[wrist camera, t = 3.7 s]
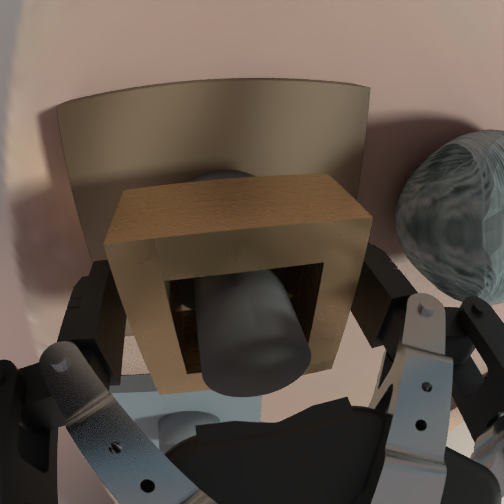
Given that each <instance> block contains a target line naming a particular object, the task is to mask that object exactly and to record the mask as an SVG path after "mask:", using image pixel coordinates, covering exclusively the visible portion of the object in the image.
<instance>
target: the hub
mask: <svg viewBox="0 0 504 504" xmlns="http://www.w3.org/2000/svg"><path fill="white" fill-rule="evenodd" d="M109 392H110V393H111V394H112V395H113V396H114V398H115V399H116V400H117V401H118V403H119V404H120V405H121V406H122V408H123V409H124V410H125V411H126V413H127V414H128V415H129V416H130V417H131V419H132V420H133V421H134V422H135V423H136V424H137V426H138V427H139V428H140V429H141V430H142V431H143V432H144V434H145V435H146V436H147V437H148V438H149V439H150V440H151V441H152V442H153V443H154V445H155V446H156V447H157V448H158V449H159V450H160V451H161V452H162V453H163V454H165V453H166V452H167V451H168V450H169V449H170V448H172V447H173V446H174V445H176V444H178V443H179V442H181V441H183V440H185V439H187V438H189V437H192V436H194V435H196V428H195V425H203V424H212V423H220V422H228V421H246V422H260V416H261V400H262V395H260V396H254V397H231V396H225V395H222V394H219V393H217V392H215V391H213V390H206V391H196V392H186V393H175V394H162V395H159V392H158V390H157V388H156V386H155V384H154V382H153V379H152V377H151V375H150V374H143V375H125V376H121V383H120V385H117V386H110V388H109Z"/></svg>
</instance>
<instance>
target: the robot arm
mask: <svg viewBox="0 0 504 504" xmlns="http://www.w3.org/2000/svg"><path fill="white" fill-rule="evenodd" d="M350 310H351V312H352V314H353V315H354V317H355V319H356V321H357V322H358V324H359V326H360V328H361V329H362V331H363V333H364V335H365V337H366V338H367V340H368V342H369V344H370V346H371V347H372V348H374V347H378V346H382V345H384V347H385V349H386V350H385V352H384V354H383V358H382V362H381V367H380V371H379V375H378V379H377V383H376V387H375V390H374V394H373V397H372V400H371V402H370V404H369V406H368V407H363V406H351V404H350V402H349V400H348V397H344V398H341V399H337V400H333V401H329V402H325V403H322V404H317V405H313V406H311V407H309V408H307V409H305V410H303V411H301V412H299V413H297V414H295V415H293V416H291V417H289V418H287V419H284V420H282V421H280V422H276V423H265V422H246V421H228V422H220V423H212V424H203V425H195V428H196V435H194V436H192V437H189V438H187V439H185V440H183V441H181V442H179V443H178V444H176V445H174V446H173V447H172V448H170V449H169V450H168V451H167V452H166V453H165V454H163V453H162V452H161V451H160V450H159V449H158V448H157V447H156V446H155V445H154V443H153V442H152V441H151V440H150V439H149V438H148V437H147V436H146V435H145V434H144V432H143V431H142V430H141V429H140V428H139V427H138V426H137V424H136V423H135V422H134V421H133V420H132V419H131V417H130V416H129V415H128V414H127V413H126V411H125V410H124V409H123V408H122V406H121V405H120V404H119V403H118V401H117V400H116V399H115V398H114V396H113V395H112V394H111V393H110V392H109V388H110V386H117V385H120V383H121V369H122V357H123V347H124V337H125V328H126V320H127V315H126V313H125V310H124V307H123V304H122V301H121V298H120V296H119V293H118V290H117V287H116V284H115V281H114V278H113V274H112V271H111V268H110V265H109V262H108V259H107V260H99V261H94V262H93V265H92V268H91V271H90V274H89V276H85V277H82V278H81V279H80V280H79V281H78V283H77V284H76V285H75V286H74V288H73V291H72V294H71V297H70V300H69V303H68V306H67V310H66V312H65V316H64V319H63V322H62V326H61V329H60V333H59V336H58V340H57V343H54V344H52V345H50V346H49V347H48V348H47V349H46V350H45V351H44V352H43V353H42V355H41V357H40V360H39V363H36V364H33V365H30V366H27V367H24V368H21V369H17V368H16V366H15V365H14V364H13V363H12V362H11V361H8V360H0V504H58V494H57V442H58V427H61V426H64V425H65V427H66V429H67V431H68V432H69V434H70V436H71V437H72V439H73V441H74V442H75V444H76V445H77V447H78V448H79V450H80V451H81V453H82V454H83V456H84V457H85V459H86V460H87V462H88V463H89V465H90V466H91V467H92V469H93V470H94V472H95V473H96V474H97V476H98V477H99V478H100V480H101V481H102V482H103V484H104V485H105V486H106V488H107V489H108V490H109V491H110V493H111V494H112V495H113V496H114V498H115V499H116V500H117V501H118V503H119V504H501V498H502V497H503V496H504V323H503V322H502V321H501V319H500V318H499V317H498V315H497V314H496V313H495V311H494V310H493V309H492V307H491V306H490V305H489V304H488V303H487V302H486V301H484V300H483V299H481V298H479V297H475V296H469V297H466V298H465V299H464V300H463V302H462V304H461V306H460V308H455V307H444V306H443V305H442V303H441V302H440V301H439V300H438V299H436V298H435V297H433V296H431V295H429V294H425V293H418V292H417V291H416V290H415V289H414V287H413V286H412V285H411V284H410V282H409V281H408V280H407V279H406V277H405V276H404V275H403V274H402V272H401V271H400V270H398V269H397V266H396V265H395V264H394V263H393V262H392V260H391V259H390V258H389V257H388V256H387V254H386V253H385V252H384V251H382V250H381V249H379V248H378V247H376V246H374V245H370V243H369V242H368V244H367V248H366V253H365V257H364V261H363V265H362V269H361V273H360V276H359V280H358V284H357V288H356V291H355V295H354V298H353V302H352V305H351V309H350ZM475 348H476V349H477V351H478V352H479V354H480V355H481V357H482V359H483V360H484V362H485V363H486V365H487V368H488V376H487V379H486V380H484V378H483V376H482V374H481V373H480V371H479V369H478V368H477V366H476V364H475V363H474V361H473V359H472V358H471V356H470V355H471V354H472V352H473V351H474V349H475ZM451 396H452V397H453V399H454V401H455V403H456V405H457V407H458V409H459V411H460V413H461V415H462V417H463V419H464V421H465V423H466V425H467V427H468V429H469V431H470V433H471V436H472V438H473V440H474V442H475V446H474V452H473V453H472V455H471V459H470V458H468V457H466V456H464V455H462V454H460V453H458V452H456V451H454V450H452V449H450V448H448V447H446V440H447V433H448V426H449V417H450V407H451Z"/></svg>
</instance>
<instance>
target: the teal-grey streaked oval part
mask: <svg viewBox="0 0 504 504" xmlns="http://www.w3.org/2000/svg"><path fill="white" fill-rule="evenodd" d="M395 223H396V232H397V235H398V238H399V241H400V243H401V246H402V248H403V250H404V252H405V254H406V256H407V258H408V259H409V260H410V262H411V263H412V264H413V266H414V267H415V268H416V269H417V270H418V271H419V272H420V273H421V274H422V275H424V276H425V277H426V278H427V279H428V280H429V281H430V282H431V283H432V284H434V285H435V286H436V287H437V288H438V289H439V290H440V291H442V292H443V293H445V294H446V295H448V296H450V297H452V298H454V299H456V300H459V301H461V302H463V300H464V299H465V298H466V297H469V296H475V297H479V298H481V299H483V300H484V301H486V302H487V303H488V304H489V305H495V304H500V303H504V131H501V130H481V131H477V132H472V133H468V134H464V135H461V136H459V137H457V138H455V139H454V140H452V141H450V142H448V143H446V144H444V145H443V146H442V147H441V148H439V149H438V150H437V151H435V152H434V153H432V154H431V155H430V156H428V158H427V159H426V160H425V161H424V162H423V163H422V164H421V165H420V166H419V167H418V168H417V169H416V170H415V171H414V172H413V174H412V175H411V176H410V177H409V178H408V180H407V182H406V184H405V186H404V188H403V190H402V192H401V194H400V196H399V199H398V202H397V205H396V212H395Z"/></svg>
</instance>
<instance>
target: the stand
mask: <svg viewBox="0 0 504 504" xmlns="http://www.w3.org/2000/svg"><path fill="white" fill-rule="evenodd" d="M369 98H370V88H369V87H365V86H361V85H357V84H352V83H343V82H333V81H322V80H307V79H287V78H229V79H208V80H194V81H182V82H172V83H163V84H155V85H148V86H141V87H134V88H128V89H122V90H116V91H111V92H105V93H100V94H96V95H91V96H86V97H82V98H78V99H73V100H69V101H67V102H65V103H62V104H60V105H58V106H56V107H57V115H58V122H59V128H60V134H61V140H62V145H63V151H64V156H65V161H66V166H67V171H68V175H69V180H70V184H71V188H72V192H73V196H74V200H75V204H76V208H77V212H78V216H79V219H80V223H81V226H82V230H83V233H84V236H85V240H86V243H87V246H88V249H89V253H90V256H91V259H92V262H94V261H99V260H107V259H108V258H107V255H106V251H105V248H104V245H103V244H104V241H105V238H106V236H107V233H108V230H109V227H110V225H111V222H112V219H113V217H114V214H115V211H116V209H117V206H118V204H119V201H120V199H121V196H122V194H123V191H124V190H128V189H136V188H143V187H151V186H159V185H168V184H177V183H186V182H196V181H207V180H218V179H230V178H243V177H258V176H275V175H295V174H324V173H328V174H329V175H330V176H331V177H332V178H333V179H334V180H335V181H336V182H337V183H338V184H339V185H340V186H342V187H343V188H344V189H345V190H346V191H347V192H348V193H349V194H350V195H351V196H352V197H353V198H354V199H355V200H356V199H357V193H358V187H359V180H360V173H361V167H362V159H363V152H364V144H365V136H366V128H367V119H368V109H369ZM285 270H286V267H282V268H274V269H265V270H257V271H249V272H240V273H232V274H223V275H214V276H205V277H196V278H187V279H178V280H177V282H178V288H179V293H180V298H181V303H182V308H183V310H193V309H195V311H196V322H197V332H198V342H199V352H200V361H201V370H202V378H203V381H204V382H205V384H206V385H207V386H208V387H209V388H210V389H211V390H213V391H215V392H217V393H219V394H222V395H225V396H231V397H254V396H260V395H265V394H269V393H272V392H275V391H277V390H280V389H282V388H284V387H286V386H288V385H289V384H291V383H293V382H294V381H295V380H297V379H298V378H299V377H300V376H301V375H302V374H303V373H304V372H305V371H306V369H307V368H308V366H309V364H310V361H311V351H310V348H309V346H308V343H307V341H306V338H305V336H304V333H303V331H302V328H301V326H300V323H299V321H298V318H297V316H296V314H295V311H294V309H293V306H292V304H291V301H290V299H289V297H288V294H287V292H286V289H285V287H284V282H285ZM125 336H134V334H133V331H132V329H131V326H130V323H129V321H128V318H127V320H126V328H125Z"/></svg>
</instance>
